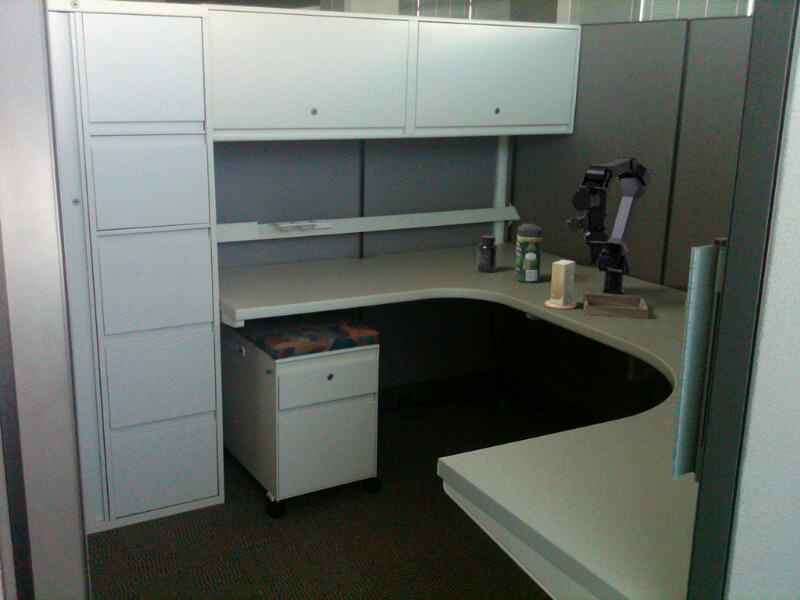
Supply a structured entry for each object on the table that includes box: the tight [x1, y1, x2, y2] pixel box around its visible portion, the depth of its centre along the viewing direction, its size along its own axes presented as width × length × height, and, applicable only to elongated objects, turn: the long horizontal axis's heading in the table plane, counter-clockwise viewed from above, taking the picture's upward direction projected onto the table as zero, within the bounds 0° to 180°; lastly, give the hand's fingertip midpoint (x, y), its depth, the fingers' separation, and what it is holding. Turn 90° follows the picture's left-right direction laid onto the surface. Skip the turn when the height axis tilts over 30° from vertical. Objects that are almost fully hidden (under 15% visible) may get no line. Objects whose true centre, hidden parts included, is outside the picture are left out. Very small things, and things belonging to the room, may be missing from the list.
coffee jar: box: [514, 223, 543, 284], centre depth 263 cm, size 10×8×19 cm
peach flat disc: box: [544, 299, 577, 311], centre depth 233 cm, size 9×9×1 cm
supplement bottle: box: [476, 235, 499, 274], centre depth 277 cm, size 7×7×12 cm
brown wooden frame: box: [582, 293, 649, 320], centre depth 229 cm, size 15×17×2 cm
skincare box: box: [549, 259, 576, 306], centre depth 231 cm, size 6×4×12 cm
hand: (592, 260), depth 237 cm, fingers open, 9 cm apart
